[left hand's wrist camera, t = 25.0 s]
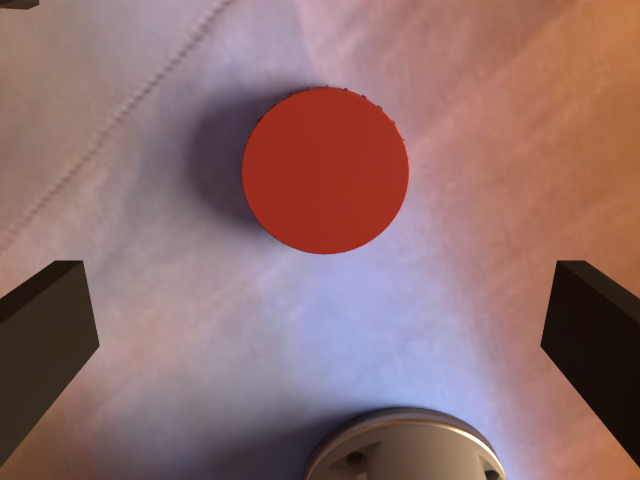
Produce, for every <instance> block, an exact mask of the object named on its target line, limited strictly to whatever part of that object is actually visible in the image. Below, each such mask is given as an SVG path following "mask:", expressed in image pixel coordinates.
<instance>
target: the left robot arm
mask: <svg viewBox="0 0 640 480" xmlns="http://www.w3.org/2000/svg"><path fill="white" fill-rule="evenodd" d="M99 346H100V345H99V340H98V335H97V330H96V325H95V320H94V315H93V309H92V304H91V299H90V294H89V289H88V284H87V279H86V274H85V269H84V264H83V261H54V262H52V263H51V264H50V265H48V266H47V267H45V268H44V269H42V270H41V271H39V272H38V273H37V274H35V275H34V276H32V277H31V278H29V279H28V280H27V281H25V282H24V283H22V284H21V285H19V286H18V287H17V288H15V289H14V290H12V291H11V292H9V293H8V294H7V295H5V296H4V297H2V298H1V299H0V468H1V466H2V465H3V464H4V463H5V461H6V460H7V459H8V458H9V457H10V455H11V454H12V453H13V452H14V450H15V449H16V448H17V447H18V446H19V444H20V443H21V442H22V441H23V439H24V438H25V437H26V436H27V435H28V433H29V432H30V431H31V430H32V428H33V427H34V426H35V425H36V423H37V422H38V421H39V420H40V419H41V417H42V416H43V415H44V414H45V412H46V411H47V410H48V409H49V408H50V406H51V405H52V404H53V403H54V401H55V400H56V399H57V398H58V397H59V395H60V394H61V393H62V392H63V390H64V389H65V388H66V387H67V385H68V384H69V383H70V382H71V381H72V379H73V378H74V377H75V376H76V374H77V373H78V372H79V371H80V370H81V368H82V367H83V366H84V365H85V363H86V362H87V361H88V360H89V358H90V357H91V356H92V355H93V354H94V352H95V351H96V350H97V349H98V347H99ZM540 346H541V347H542V349H543V350H544V351H545V352H546V354H547V355H548V356H549V357H550V358H551V360H552V361H553V362H554V363H555V365H556V366H557V367H558V368H559V370H560V371H561V372H562V373H563V374H564V376H565V377H566V378H567V379H568V381H569V382H570V383H571V384H572V385H573V387H574V388H575V389H576V390H577V392H578V393H579V394H580V395H581V397H582V398H583V399H584V400H585V401H586V403H587V404H588V405H589V406H590V408H591V409H592V410H593V411H594V412H595V414H596V415H597V416H598V417H599V419H600V420H601V421H602V422H603V423H604V425H605V426H606V427H607V428H608V430H609V431H610V432H611V433H612V435H613V436H614V437H615V438H616V439H617V441H618V442H619V443H620V444H621V446H622V447H623V448H624V449H625V450H626V452H627V453H628V454H629V455H630V457H631V458H632V459H633V460H634V461H635V463H636V464H637V465H638V466H639V468H640V299H639V298H638V297H636V296H635V295H633V294H632V293H631V292H629V291H628V290H626V289H625V288H623V287H622V286H621V285H619V284H618V283H616V282H615V281H613V280H612V279H611V278H609V277H608V276H606V275H605V274H603V273H602V272H601V271H599V270H598V269H596V268H595V267H593V266H592V265H590V264H589V263H588V262H586V261H557V264H556V269H555V274H554V279H553V284H552V289H551V294H550V299H549V304H548V309H547V314H546V320H545V325H544V330H543V335H542V340H541V345H540ZM303 480H507V479H506V476H505V473H504V471H503V468H502V466H501V464H500V462H499V459H498V457H497V455H496V453H495V451H494V449H493V447H492V446H491V444H490V443H489V442H488V440H487V439H486V438H485V437H484V436H483V435H482V434H481V433H480V432H479V431H478V430H476V429H475V428H474V427H472V426H471V425H469V424H468V423H466V422H464V421H462V420H460V419H458V418H456V417H454V416H451V415H448V414H446V413H442V412H438V411H434V410H428V409H420V408H395V409H387V410H381V411H377V412H373V413H369V414H366V415H363V416H361V417H358V418H355V419H353V420H351V421H349V422H347V423H345V424H344V425H342V426H340V427H339V428H337V429H336V430H334V431H333V432H332V433H330V434H329V435H328V436H327V437H326V438H325V439H324V440H323V441H322V442H321V443H320V444H319V445H318V446H317V448H316V449H315V451H314V452H313V454H312V455H311V457H310V459H309V461H308V463H307V466H306V469H305V473H304V479H303Z"/></svg>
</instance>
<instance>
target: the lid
mask: <svg viewBox="0 0 640 480" xmlns="http://www.w3.org/2000/svg"><path fill="white" fill-rule="evenodd" d="M366 98H367V97H365V96H364V95H362V96H360V95H359V94H356V93H354V92H351V91H348V89H347V88H345V89H340V88H332V87H328V86H326V87H318V88H311V89H310V88H309V87H308V88H307V89H306V90H303V91H300V92H297V93H294V94H292V93H291V94H289V95H288V97H286V98H285V99H283V100H282V101H280V102H279V103H277V104H276V103H275V104H274V105H272V106H271V107H272V108H271V109H270V110H269V111H268V112H267V113H266V114H265V115H264V116H262V117H261V118H260V119H259V120H258V123H257V125H256V126H255V128H254V129H253V131H252V133H251V134H250V135H249V136H248V138H249V139H248V141H247V143H246V147H245V150H244V153H243V160H242V173H241V176H242V185H243V190H244V194H245V197H246V200H247V202H248V205H249V207H250V209H251V211H252V213H253V215H254V216H255V218H256V219H257V220H258V222H259V223H260V224H261V225H262V226H263V228H264V229H265V230H266V231H267V232H268V233H270V234H271V235H272V236H273V237H274V238H276V239H277V240H279V241H281V242H282V243H284V244H286V245H288V246H290V247H292V248H294V249H297V250H300V251H303V252H308V253H313V254H336V253H342V252H346V251H350V250H353V249H356V248H358V247H361V246H363V245H365V244H366V243H368V242H370V241H372V240H373V239H374V238H376V237H377V236H378V235H380V234H381V233H382V232H383V231H384V230H385V229H386V228H387V227H388V226H389V225H390V223H391V222H392V221H393V220H394V218H395V217H396V215H397V213H398V212H399V210H400V208H401V206H402V204H403V201H404V199H405V196H406V192H407V188H408V182H409V161H408V159H409V158H408V155H407V151H406V147H405V144H404V142H403V141H404V139H403V138H402V137H401V135H400V133H399V131H398V129H397V128H396V126H395V122H393V121H392V120H391V119H390V118H389V117H388V116H387V115H386V114H385V113H384V112H383V111H382V108H381V107H380V106H376V105H374V104H373V103H372V102H370V101H369V100H368V99H366Z"/></svg>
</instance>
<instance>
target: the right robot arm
mask: <svg viewBox="0 0 640 480" xmlns="http://www.w3.org/2000/svg"><path fill="white" fill-rule="evenodd" d="M37 5H39V0H0V8H6V9H26V10H28V9H30V8H32V7H35V6H37Z"/></svg>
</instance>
